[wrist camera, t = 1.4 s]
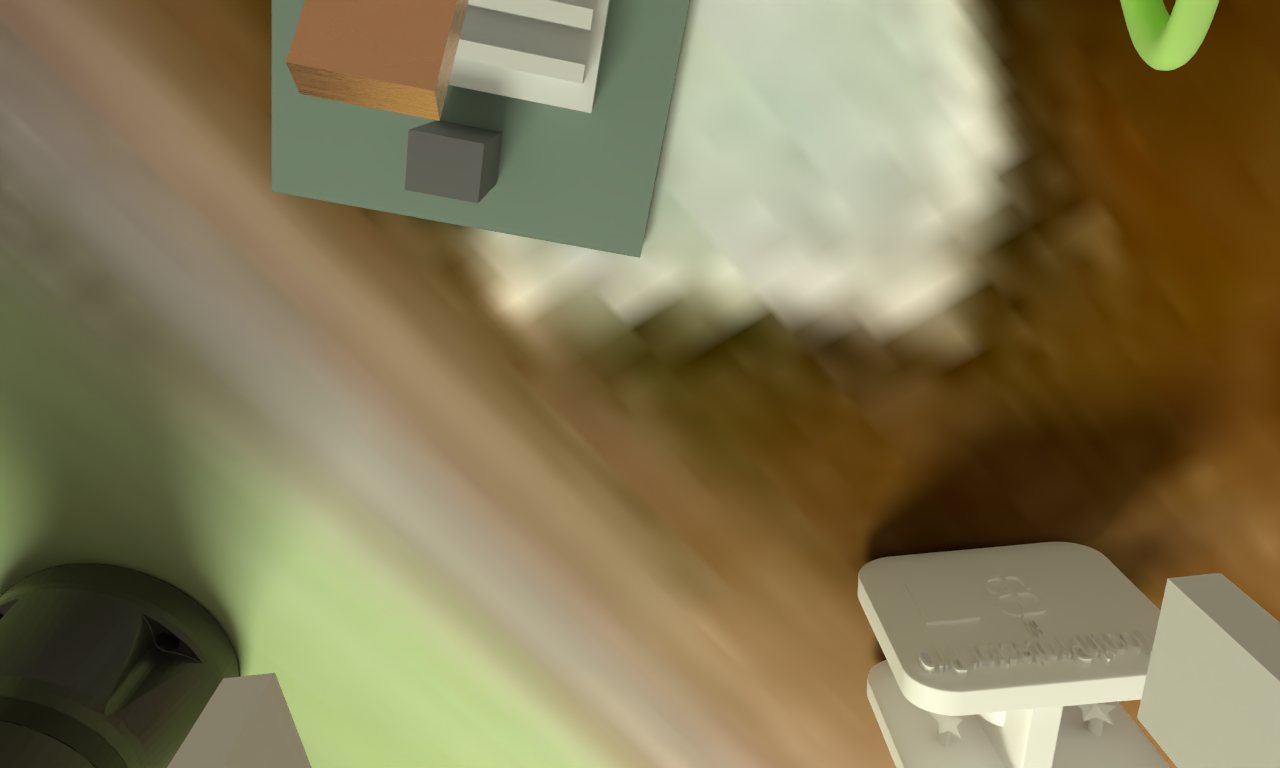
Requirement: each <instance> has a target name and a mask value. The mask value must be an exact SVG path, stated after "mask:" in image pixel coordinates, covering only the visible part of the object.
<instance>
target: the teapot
mask: <svg viewBox="0 0 1280 768" xmlns="http://www.w3.org/2000/svg"><path fill="white" fill-rule="evenodd" d="M1120 1H1121V5H1122V9H1123V13H1124V17H1125V20H1126V24H1127V28H1128V31H1129V34H1130V37H1131V40H1132V42H1133V44H1134V46H1135V49H1136V50H1137V52H1138V53H1139V55H1140V56H1141V57H1142V59H1143V60H1144V61H1145V62H1146V63H1147V64H1148V65H1149V66H1151V67H1152V68H1154V69H1156V70H1167V71H1168V70H1174V69H1176V68H1178V67H1180V66H1182V65H1184V64H1185V63H1186V62H1188V61H1189V60H1190V59H1191V57H1192V56H1193V55H1194V54H1195V53H1196V51H1197V50H1198V48H1199V46H1200V45H1201V43H1202V41H1203V40H1204V38H1205V35H1206V33H1207V31H1208V29H1209V27H1210V24H1211V21H1212V19H1213V16H1214V14H1215V11H1216V8H1217V5H1218V2H1219V0H1176V2H1175V5H1174V8H1173V11H1172V13H1171V16H1169V14H1168V12H1167V10H1166V8H1165V6H1164V3H1163V0H1120Z"/></svg>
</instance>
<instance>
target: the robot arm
mask: <svg viewBox="0 0 1280 768" xmlns="http://www.w3.org/2000/svg"><path fill="white" fill-rule="evenodd" d="M1137 718H1138V720H1139V721H1140V722H1141V723H1142V724H1143V726H1144V727H1145V728H1146V729H1147V731H1148V732H1149V733H1150V734H1151V736H1152V737H1153V738H1154V739H1155V741H1156V742H1157V743H1158V744H1159V746H1160V747H1161V748H1162V749H1163V750H1164V752H1165V753H1166V754H1167V755H1168V757H1169V758H1170V759H1171V760H1172V762H1173V763H1174V764H1175V765H1176V767H1177V768H1280V622H1279V621H1277V620H1276V619H1275V618H1274V617H1273V616H1271V615H1270V614H1269V613H1268V612H1267V611H1265V610H1264V609H1263V608H1262V607H1261V606H1259V605H1258V604H1257V603H1256V602H1255V601H1253V600H1252V599H1251V598H1250V597H1249V596H1247V595H1246V594H1245V593H1244V592H1243V591H1241V590H1240V589H1239V588H1238V587H1237V586H1235V585H1234V584H1233V583H1232V582H1231V581H1229V580H1228V579H1227V578H1226V577H1225V576H1223V575H1222V574H1221V573H1214V574H1205V575H1195V576H1186V577H1176V578H1168V580H1167V584H1166V589H1165V593H1164V598H1163V602H1162V607H1161V612H1160V616H1159V621H1158V625H1157V630H1156V634H1155V639H1154V643H1153V648H1152V653H1151V657H1150V662H1149V666H1148V671H1147V675H1146V680H1145V684H1144V689H1143V694H1142V698H1141V703H1140V707H1139V712H1138V716H1137ZM0 768H311V765H310V763H309V760H308V757H307V755H306V752H305V750H304V747H303V744H302V742H301V739H300V737H299V734H298V732H297V729H296V726H295V724H294V721H293V719H292V716H291V713H290V711H289V708H288V706H287V703H286V700H285V698H284V695H283V693H282V690H281V687H280V685H279V682H278V680H277V677H276V674H275V673H270V674H261V675H251V676H242V677H239V669H238V663H237V659H236V655H235V652H234V650H233V647H232V645H231V643H230V641H229V639H228V637H227V636H226V634H225V633H224V631H223V630H222V628H221V627H220V626H219V624H218V623H217V622H216V621H215V619H214V618H213V617H212V616H211V615H210V614H209V613H208V612H207V611H206V610H205V609H204V608H202V607H201V606H200V605H199V604H198V603H197V602H195V601H194V600H193V599H191V598H190V597H188V596H187V595H185V594H184V593H182V592H181V591H179V590H178V589H176V588H174V587H172V586H170V585H168V584H166V583H165V582H162V581H160V580H158V579H156V578H153V577H151V576H148V575H145V574H142V573H139V572H136V571H132V570H129V569H124V568H120V567H114V566H108V565H98V564H73V565H64V566H58V567H53V568H49V569H46V570H42V571H39V572H37V573H34V574H32V575H30V576H28V577H26V578H24V579H22V580H21V581H19V582H18V583H16V584H15V585H14V586H12V587H11V588H10V589H9V590H8V591H7V592H6V593H4V594H3V595H2V596H1V597H0Z"/></svg>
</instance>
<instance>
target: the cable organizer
mask: <svg viewBox="0 0 1280 768" xmlns="http://www.w3.org/2000/svg"><path fill="white" fill-rule="evenodd" d="M858 599H859V601H860V603H861V605H862V607H863V610H864V612H865V614H866V616H867V618H868V620H869V623H870V625H871V627H872V629H873V631H874V633H875V635H876V638H877V640H878V642H879V644H880V646H881V648H882V651H883V653H884V655H885V657H886V659H887V660H884V661H882V662H879V663H877V664H876V665H874V666H873V667H872V668H871V669H870V671H869V673H868V677H867V696H868V699H869V702H870V704H871V707H872V709H873V711H874V714H875V716H876V719H877V721H878V724H879V726H880V729H881V731H882V734H883V736H884V739H885V741H886V743H887V746H888V748H889V751H890V753H891V756H892V758H893V761H894V763H895V766H896V768H1170V767H1169V765H1168V764H1167V762H1166V761H1165V759H1164V758H1163V757H1162V756H1161V754H1160V753H1159V752H1158V751H1157V749H1156V748H1155V747H1154V746H1153V744H1152V743H1151V742H1150V741H1149V739H1148V738H1147V737H1146V736H1145V734H1144V733H1143V732H1142V731H1141V729H1140V728H1139V727H1138V726H1137V724H1136V723H1135V722H1134V721H1133V719H1132V718H1131V717H1130V716H1129V714H1128V713H1127V712H1126V711H1125V709H1124V708H1123V707H1122V705H1121V704H1120V703H1119V702H1118V701H1127V700H1138V699H1141V698H1142V694H1143V689H1144V684H1145V680H1146V675H1147V671H1148V666H1149V662H1150V657H1151V653H1152V648H1153V643H1154V639H1155V634H1156V630H1157V625H1158V621H1159V616H1160V612H1161V611H1160V610H1159V609H1158V608H1157V607H1156V606H1155V605H1154V604H1153V603H1152V602H1151V601H1150V600H1149V599H1148V598H1147V597H1146V596H1145V595H1144V594H1143V593H1142V592H1141V591H1140V590H1139V589H1138V588H1137V587H1136V586H1135V585H1134V584H1133V583H1132V582H1131V581H1130V580H1129V579H1128V578H1127V577H1126V576H1125V575H1124V574H1123V573H1122V572H1121V571H1120V570H1119V569H1118V568H1117V567H1116V566H1115V565H1114V564H1113V563H1112V562H1111V561H1110V560H1109V559H1108V558H1107V557H1106V556H1105V555H1103V554H1102V553H1101V552H1099V551H1097V550H1095V549H1093V548H1091V547H1088V546H1085V545H1081V544H1077V543H1070V542H1043V543H1032V544H1022V545H1011V546H1000V547H989V548H978V549H967V550H956V551H945V552H934V553H923V554H912V555H901V556H890V557H883V558H879V559H875V560H873V561H870V562H868V563H867V564H865V565H864V566H863V567H862V568H861V569H860V571H859V574H858Z"/></svg>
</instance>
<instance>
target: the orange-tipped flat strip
mask: <svg viewBox="0 0 1280 768" xmlns="http://www.w3.org/2000/svg"><path fill="white" fill-rule="evenodd" d="M468 1H469V0H305V3H304V6H303V9H302V13H301V16H300V19H299V22H298V25H297V28H296V31H295V34H294V37H293V41H292V44H291V47H290V50H289V53H288V56H287V59H286V64H287V66H288V68H289V71H290V73H291V75H292V78H293V80H294V82H295V84H296V87H297V89H298V91H299V94H303V95H308V96H313V97H318V98H324V99H329V100H334V101H339V102H344V103H349V104H354V105H360V106H365V107H370V108H375V109H380V110H385V111H390V112H396V113H401V114H406V115H411V116H416V117H421V118H426V119H432V120H437V121H440V118H441V114H442V110H443V106H444V102H445V97H446V93H447V89H448V85H449V81H450V76H451V72H452V68H453V64H454V60H455V56H456V51H457V47H458V43H459V39H460V35H461V30H462V26H463V22H464V18H465V14H466V10H467V5H468Z"/></svg>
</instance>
